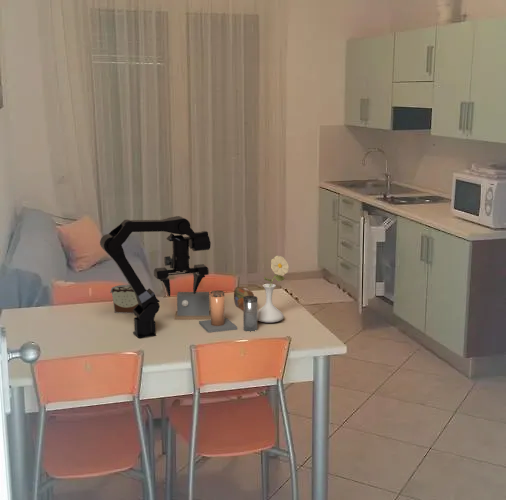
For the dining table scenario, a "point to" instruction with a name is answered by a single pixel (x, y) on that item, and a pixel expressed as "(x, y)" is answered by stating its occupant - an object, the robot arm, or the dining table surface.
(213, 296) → the cylinder
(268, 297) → the flower in vase
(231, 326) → the mat
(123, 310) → the food container
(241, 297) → the tin
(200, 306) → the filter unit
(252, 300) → the cylinder
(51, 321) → the dining table surface
